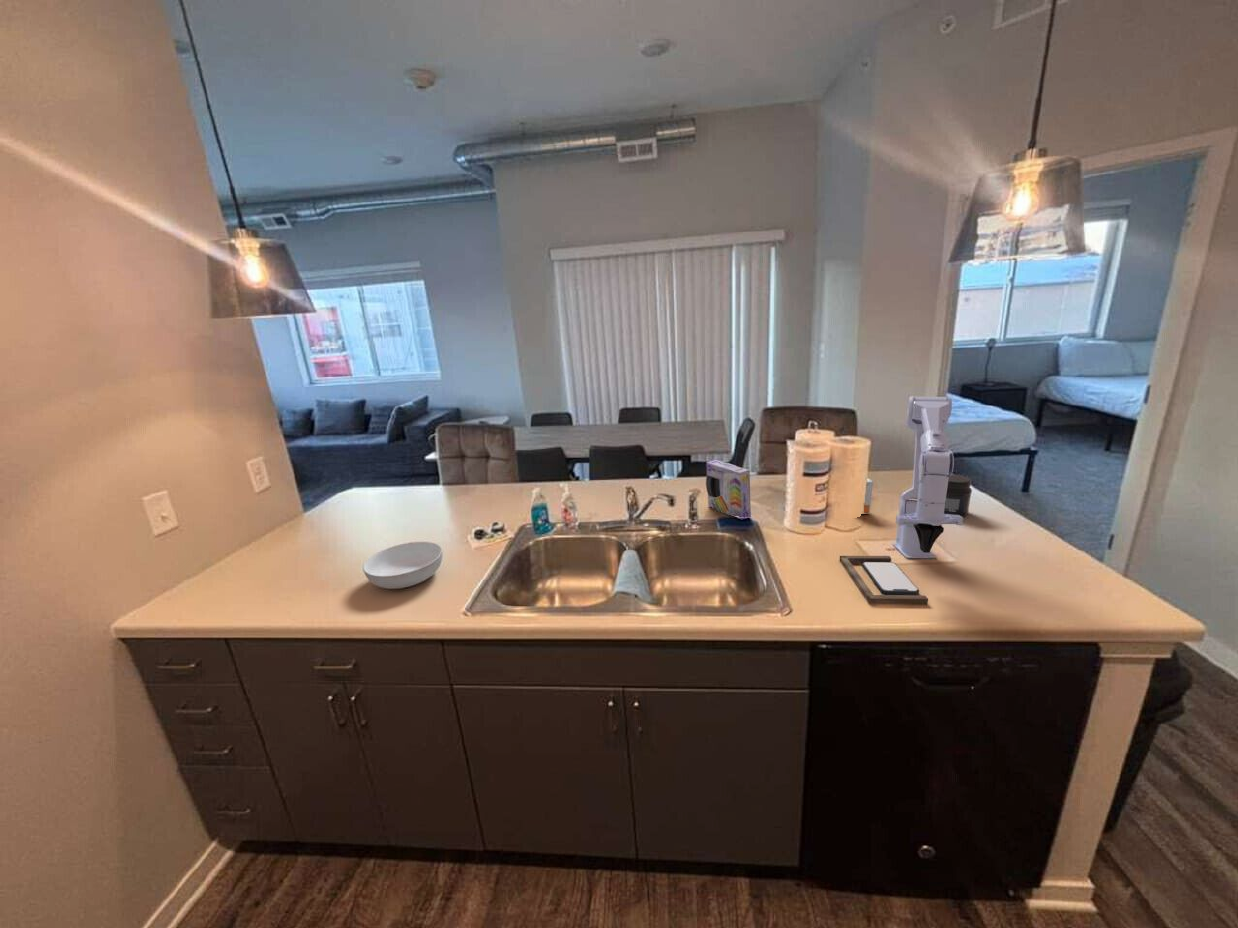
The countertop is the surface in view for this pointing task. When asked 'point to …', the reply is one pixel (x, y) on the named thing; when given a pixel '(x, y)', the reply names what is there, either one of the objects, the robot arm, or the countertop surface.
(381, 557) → the serving bowl
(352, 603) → the countertop surface
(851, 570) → the walnut frame
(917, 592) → the dark grey smartphone
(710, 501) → the cake pan box
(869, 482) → the skincare box
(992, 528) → the countertop surface
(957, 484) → the supplement container
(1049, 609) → the countertop surface
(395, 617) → the countertop surface
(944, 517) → the robot arm
